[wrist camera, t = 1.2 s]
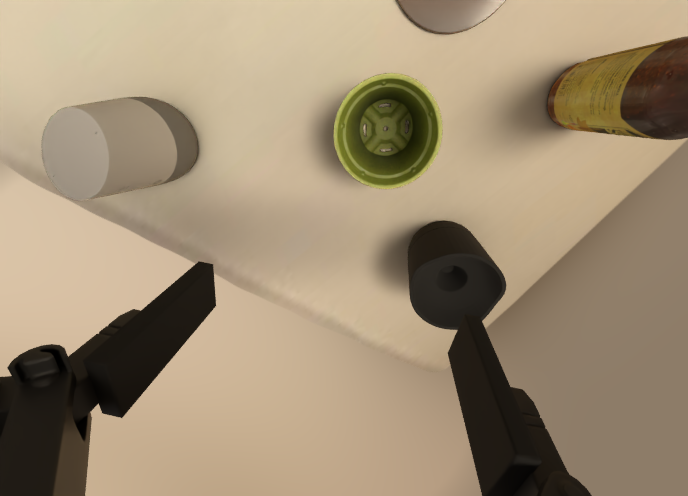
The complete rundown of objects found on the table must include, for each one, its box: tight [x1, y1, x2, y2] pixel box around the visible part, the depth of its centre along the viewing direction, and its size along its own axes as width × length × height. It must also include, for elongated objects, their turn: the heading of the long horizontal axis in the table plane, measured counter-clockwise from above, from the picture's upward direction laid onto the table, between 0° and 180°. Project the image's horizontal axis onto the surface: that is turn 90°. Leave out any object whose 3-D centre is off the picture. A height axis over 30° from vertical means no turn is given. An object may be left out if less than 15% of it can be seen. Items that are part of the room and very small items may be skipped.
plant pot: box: [334, 73, 442, 189], centre depth 29 cm, size 9×9×9 cm
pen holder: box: [408, 221, 506, 330], centre depth 35 cm, size 9×9×10 cm
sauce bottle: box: [547, 37, 688, 140], centre depth 21 cm, size 6×6×20 cm
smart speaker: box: [42, 97, 198, 201], centre depth 31 cm, size 10×9×14 cm
